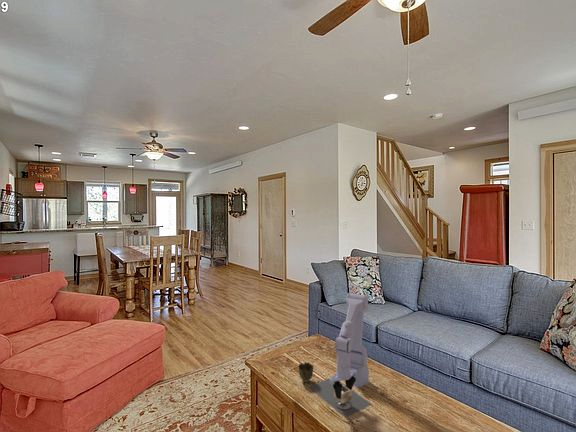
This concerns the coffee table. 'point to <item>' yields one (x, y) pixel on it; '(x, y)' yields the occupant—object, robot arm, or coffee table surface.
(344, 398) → the collar
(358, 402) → the mat
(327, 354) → the coffee table surface
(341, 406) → the post
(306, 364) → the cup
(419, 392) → the coffee table surface
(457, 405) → the coffee table surface
